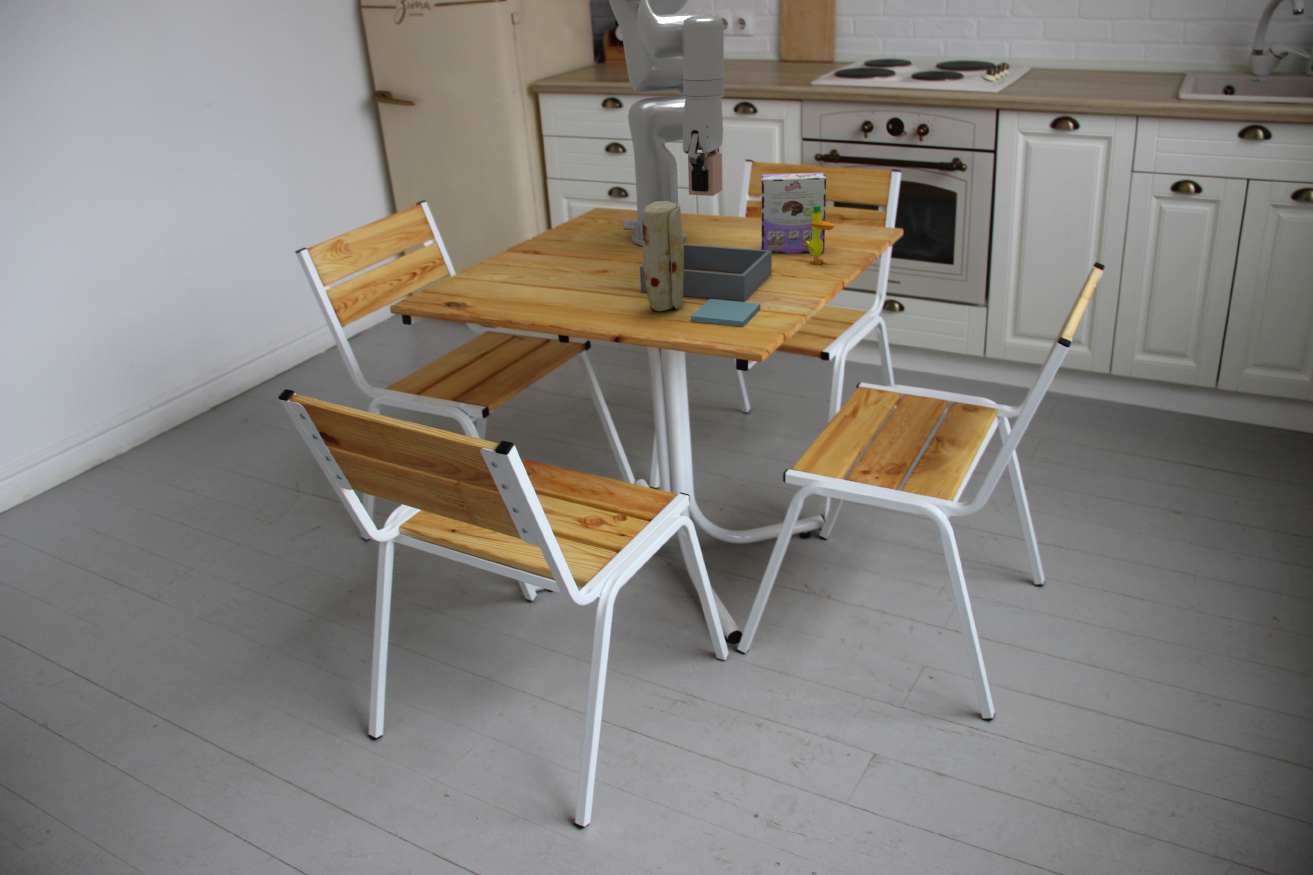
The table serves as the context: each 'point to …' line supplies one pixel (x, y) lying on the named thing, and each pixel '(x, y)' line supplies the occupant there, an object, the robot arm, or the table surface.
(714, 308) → the pad
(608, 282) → the table surface
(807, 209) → the candy box
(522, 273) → the table surface
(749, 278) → the crate
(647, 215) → the food model
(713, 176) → the block
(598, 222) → the table surface
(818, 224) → the toy figure
